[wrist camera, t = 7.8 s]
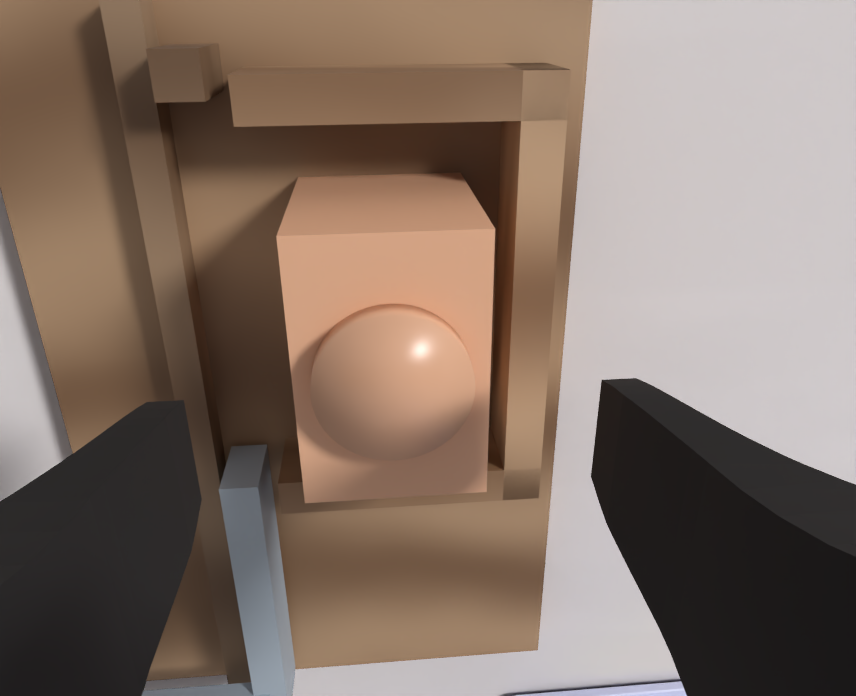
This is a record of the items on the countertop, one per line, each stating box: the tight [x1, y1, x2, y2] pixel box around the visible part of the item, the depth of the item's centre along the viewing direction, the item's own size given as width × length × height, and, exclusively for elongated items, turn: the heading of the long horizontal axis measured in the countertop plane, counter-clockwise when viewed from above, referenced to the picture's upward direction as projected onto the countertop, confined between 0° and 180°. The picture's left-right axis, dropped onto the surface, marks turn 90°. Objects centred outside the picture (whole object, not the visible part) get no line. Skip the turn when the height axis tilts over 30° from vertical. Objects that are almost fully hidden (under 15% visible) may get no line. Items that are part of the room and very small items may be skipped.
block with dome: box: [276, 173, 495, 503], centre depth 16 cm, size 6×4×6 cm, turn 1°
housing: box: [0, 0, 593, 684], centre depth 19 cm, size 21×14×3 cm, turn 1°
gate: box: [142, 444, 295, 696], centre depth 21 cm, size 9×8×3 cm
